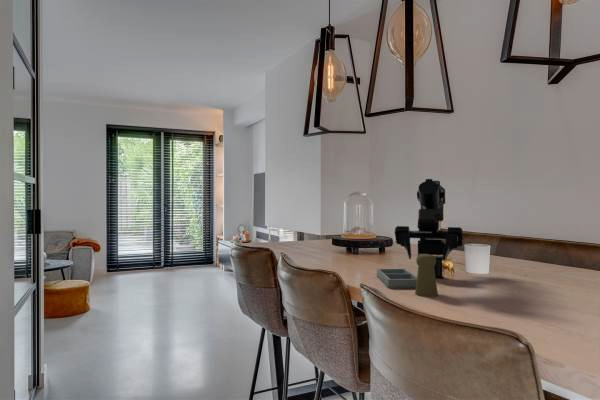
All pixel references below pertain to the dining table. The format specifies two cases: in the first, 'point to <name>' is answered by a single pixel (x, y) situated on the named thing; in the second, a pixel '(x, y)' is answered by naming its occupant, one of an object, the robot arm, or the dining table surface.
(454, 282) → the dining table surface
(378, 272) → the grey divided tray
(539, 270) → the dining table surface
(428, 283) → the olive green upright block
